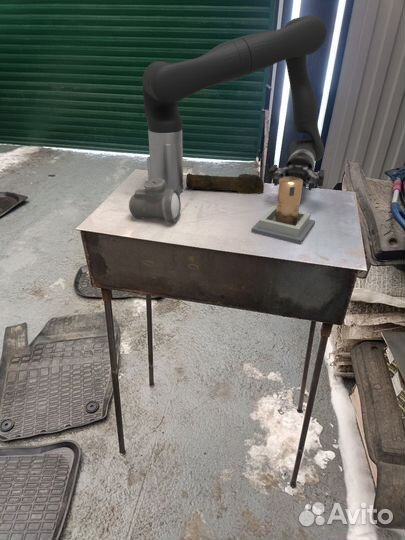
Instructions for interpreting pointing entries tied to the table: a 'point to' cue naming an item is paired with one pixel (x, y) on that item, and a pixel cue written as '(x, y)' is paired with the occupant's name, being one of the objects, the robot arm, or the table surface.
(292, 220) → the copper cylinder
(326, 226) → the table surface
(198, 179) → the hand tool
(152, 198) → the pipe fitting
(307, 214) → the duct flange
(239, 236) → the table surface
